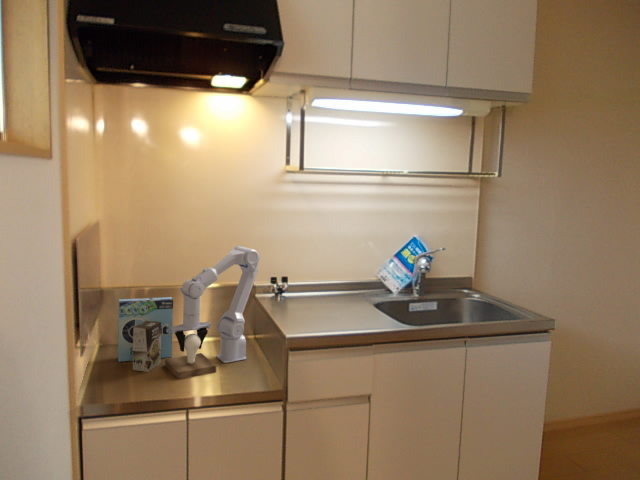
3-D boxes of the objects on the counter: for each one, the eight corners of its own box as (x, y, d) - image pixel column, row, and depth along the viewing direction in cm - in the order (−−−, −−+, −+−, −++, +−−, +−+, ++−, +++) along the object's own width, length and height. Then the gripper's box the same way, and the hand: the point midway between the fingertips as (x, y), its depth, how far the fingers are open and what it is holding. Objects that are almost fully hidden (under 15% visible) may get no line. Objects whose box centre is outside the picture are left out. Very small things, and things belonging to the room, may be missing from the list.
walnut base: (201, 359, 195) (201, 353, 195) (215, 372, 184) (216, 365, 183) (165, 365, 187) (165, 359, 187) (178, 379, 176) (178, 372, 175)
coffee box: (148, 372, 180) (148, 328, 178) (132, 370, 181) (132, 326, 179) (161, 363, 189) (162, 321, 187) (145, 361, 190) (146, 319, 188)
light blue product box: (118, 362, 187) (118, 302, 184) (117, 357, 192) (118, 299, 189) (172, 357, 195) (173, 299, 192) (170, 352, 200) (171, 296, 197)
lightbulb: (190, 367, 179) (192, 336, 179) (178, 364, 182) (180, 333, 182) (203, 363, 184) (204, 334, 184) (191, 360, 187) (192, 331, 187)
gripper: (175, 318, 175) (174, 356, 177) (214, 313, 183) (213, 349, 185) (168, 313, 181) (168, 349, 183) (207, 308, 189) (206, 343, 191)
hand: (190, 349), depth 184 cm, fingers closed on lightbulb, 6 cm apart
